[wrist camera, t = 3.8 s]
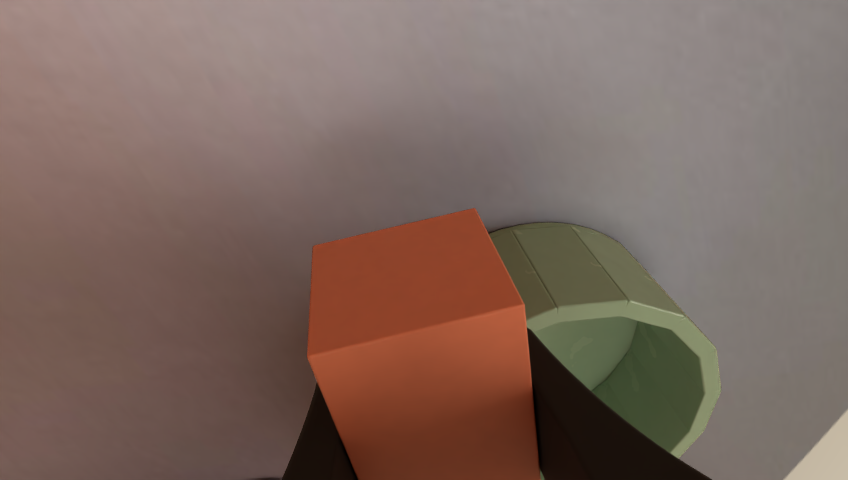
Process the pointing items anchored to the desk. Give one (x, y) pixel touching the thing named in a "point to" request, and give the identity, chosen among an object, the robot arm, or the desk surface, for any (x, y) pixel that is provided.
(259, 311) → the desk surface
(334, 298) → the orange square prism
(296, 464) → the robot arm
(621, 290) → the pot
